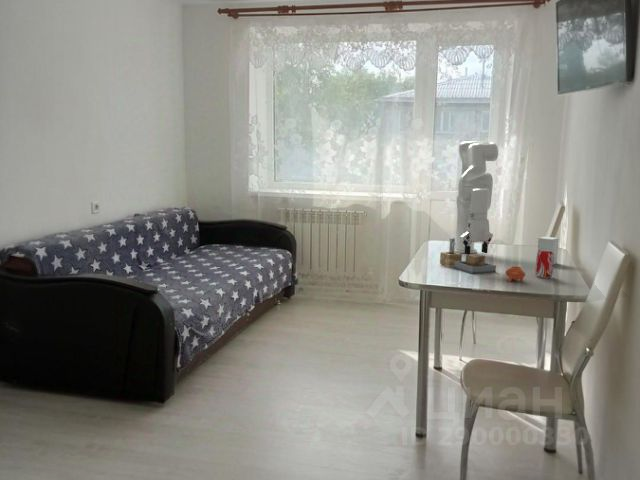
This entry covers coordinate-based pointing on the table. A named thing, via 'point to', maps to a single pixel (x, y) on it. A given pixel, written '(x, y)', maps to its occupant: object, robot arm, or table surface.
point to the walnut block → (475, 260)
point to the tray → (474, 268)
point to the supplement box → (549, 245)
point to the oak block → (449, 258)
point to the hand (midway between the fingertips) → (475, 253)
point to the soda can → (544, 263)
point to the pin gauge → (452, 245)
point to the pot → (515, 273)
